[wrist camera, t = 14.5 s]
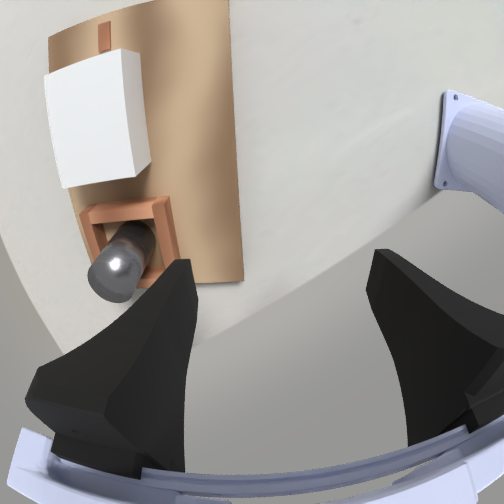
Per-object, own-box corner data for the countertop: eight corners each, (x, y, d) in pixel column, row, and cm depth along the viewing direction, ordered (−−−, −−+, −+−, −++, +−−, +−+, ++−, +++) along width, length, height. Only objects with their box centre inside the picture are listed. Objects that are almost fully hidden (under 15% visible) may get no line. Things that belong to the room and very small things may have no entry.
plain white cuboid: (140, 53, 13) (120, 48, 10) (151, 161, 16) (135, 176, 14) (70, 74, 13) (43, 76, 10) (84, 172, 16) (62, 188, 14)
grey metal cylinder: (157, 258, 20) (136, 306, 16) (120, 254, 20) (93, 299, 16) (154, 221, 18) (129, 264, 14) (115, 218, 18) (82, 259, 14)
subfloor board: (228, -6, 12) (226, -19, 10) (243, 273, 22) (244, 294, 20) (56, 38, 12) (35, 36, 9) (104, 278, 22) (93, 297, 20)
